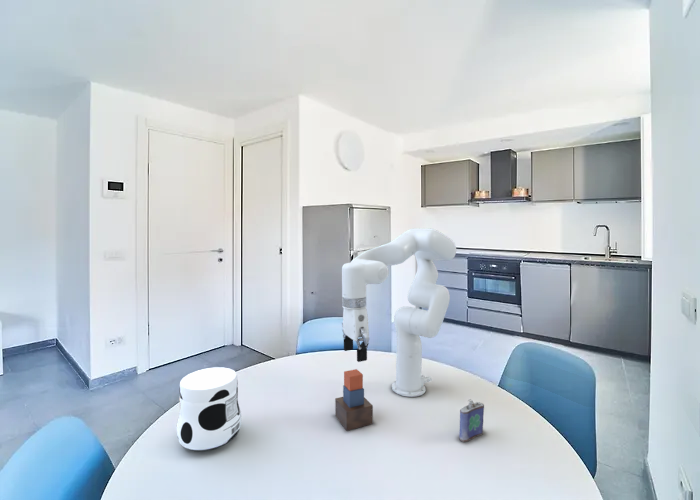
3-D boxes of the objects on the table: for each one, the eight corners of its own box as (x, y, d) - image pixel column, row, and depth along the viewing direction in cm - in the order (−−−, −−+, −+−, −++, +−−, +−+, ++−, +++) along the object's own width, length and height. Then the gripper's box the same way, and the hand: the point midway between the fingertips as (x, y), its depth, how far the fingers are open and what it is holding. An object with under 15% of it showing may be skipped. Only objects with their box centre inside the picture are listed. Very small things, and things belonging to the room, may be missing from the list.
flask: (464, 443, 97) (464, 406, 96) (456, 438, 99) (456, 402, 99) (485, 433, 101) (486, 398, 101) (477, 428, 104) (478, 394, 103)
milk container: (179, 428, 103) (177, 371, 102) (238, 416, 110) (237, 362, 109) (174, 465, 88) (172, 397, 86) (244, 448, 94) (243, 385, 93)
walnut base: (359, 409, 114) (359, 392, 114) (372, 423, 106) (372, 405, 106) (335, 416, 111) (335, 398, 110) (346, 431, 102) (346, 411, 102)
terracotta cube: (356, 382, 111) (356, 368, 110) (362, 388, 106) (362, 374, 106) (343, 385, 109) (344, 371, 108) (349, 391, 105) (349, 377, 104)
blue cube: (357, 397, 111) (357, 382, 111) (364, 404, 106) (364, 388, 106) (343, 400, 109) (343, 385, 108) (349, 407, 104) (349, 392, 104)
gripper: (378, 306, 100) (378, 363, 101) (353, 295, 116) (353, 344, 117) (355, 309, 97) (356, 368, 98) (332, 298, 112) (333, 348, 114)
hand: (355, 355), depth 108 cm, fingers open, 9 cm apart
